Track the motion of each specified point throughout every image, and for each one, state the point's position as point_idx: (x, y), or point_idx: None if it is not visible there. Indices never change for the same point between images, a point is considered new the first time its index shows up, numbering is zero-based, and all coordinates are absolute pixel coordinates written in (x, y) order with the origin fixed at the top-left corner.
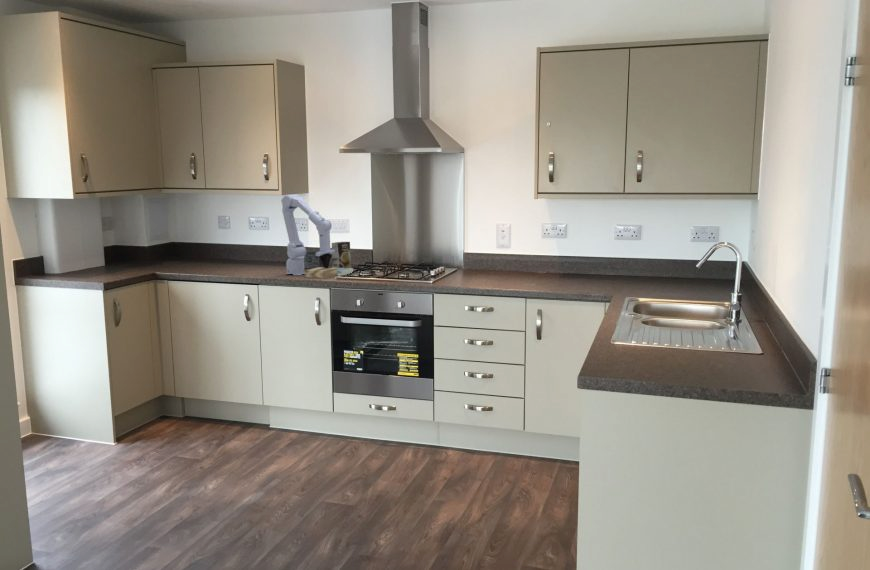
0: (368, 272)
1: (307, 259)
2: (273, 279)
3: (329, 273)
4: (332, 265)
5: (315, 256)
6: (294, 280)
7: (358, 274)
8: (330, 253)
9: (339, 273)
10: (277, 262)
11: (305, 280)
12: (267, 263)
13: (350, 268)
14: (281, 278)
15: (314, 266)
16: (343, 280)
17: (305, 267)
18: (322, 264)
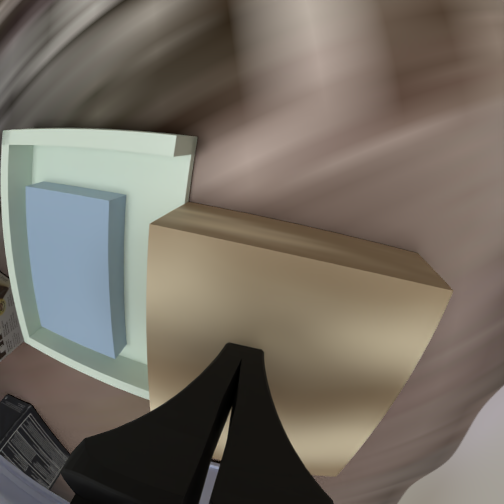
0: (13, 41)
1: (42, 474)
2: (388, 497)
3: (355, 251)
4: (3, 358)
5: (11, 459)
6: (457, 424)
7: (92, 32)
8: (29, 481)
9: (122, 215)
10: None
11: (481, 368)
12: (67, 500)
13: (3, 165)
14: (360, 492)
15: (39, 433)
16: (492, 26)
17: (64, 457)
18: (5, 407)
